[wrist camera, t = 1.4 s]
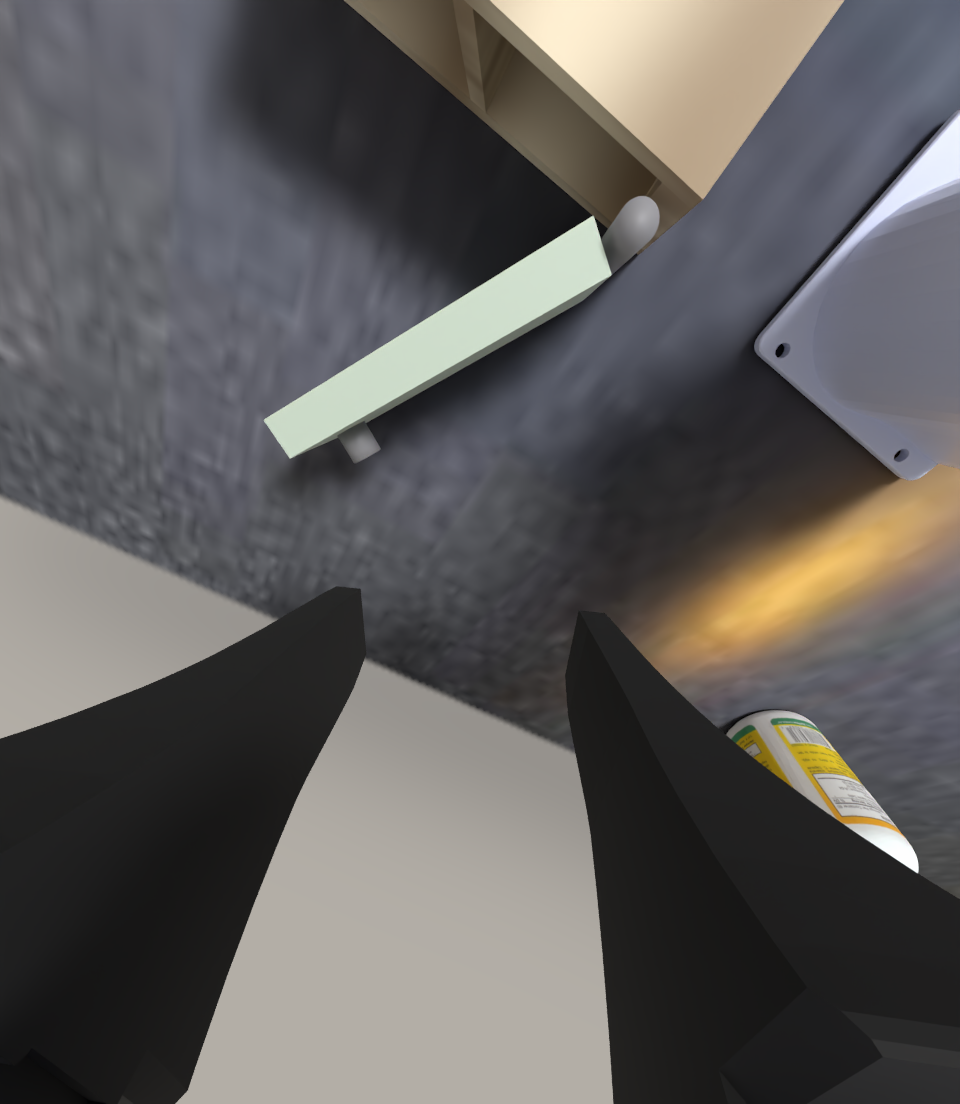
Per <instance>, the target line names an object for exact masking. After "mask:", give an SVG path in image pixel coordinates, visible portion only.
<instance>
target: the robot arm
mask: <svg viewBox="0 0 960 1104" xmlns="http://www.w3.org/2000/svg"><path fill="white" fill-rule="evenodd" d="M780 344H783V346H784V352H783V353H782V355H781V356H780V357H778V358H777V357H776V355H775V351H776V349H777V347H778V346H779V345H780ZM754 348H755V352H756V354H757V355H758V356H759V357H760V358H762V359H763V360H764V361H765V362H766V363H767V364H768V365H770V366H771V367H772V368H773V369H774V370H775V371H777V372H778V373H779V374H780V375H781V376H782V377H783V378H785V379H786V380H787V381H788V382H789V383H790V384H792V385H793V386H794V387H795V388H796V389H797V390H798V391H800V392H801V393H802V394H803V395H804V396H805V397H807V398H808V399H809V400H810V401H811V402H812V403H814V404H815V405H816V406H817V407H818V408H819V409H820V410H822V411H823V412H824V413H825V414H826V415H827V416H829V417H830V418H831V419H832V420H833V421H834V422H835V423H837V424H838V425H839V426H840V427H841V428H842V429H844V430H845V431H846V432H847V433H848V434H849V435H850V436H852V437H853V438H854V439H855V440H856V441H857V442H859V443H860V444H861V445H862V446H863V447H864V448H865V449H867V450H868V451H869V452H870V453H871V454H872V455H874V456H875V457H876V458H877V459H878V460H879V461H880V462H882V463H883V464H884V465H885V466H886V467H887V468H889V469H890V470H891V471H892V472H893V473H894V474H895V475H897V476H898V477H900V478H902V479H905V480H916V479H919V478H920V477H922V476H924V475H925V474H926V473H927V472H929V471H930V470H931V469H932V468H934V467H935V466H936V465H937V464H942V465H946V466H950V467H954V468H958V469H960V109H959V110H958V111H956V112H955V113H954V114H953V115H952V116H951V117H949V119H948V120H947V121H946V122H945V123H944V124H943V125H942V127H941V128H940V129H939V130H938V131H937V132H936V133H935V135H934V136H933V137H932V138H931V139H930V140H929V141H928V143H927V144H926V145H925V146H924V147H923V148H922V149H921V151H920V152H919V153H918V154H917V155H916V156H915V157H914V159H913V160H912V161H911V162H910V163H909V164H908V165H907V166H906V168H905V169H904V170H903V171H902V172H901V173H900V174H899V176H898V177H897V178H896V179H895V180H894V181H893V182H892V184H891V185H890V186H889V187H888V188H887V189H886V190H885V192H884V193H883V194H882V195H881V196H880V197H879V198H878V200H877V201H876V202H875V203H874V204H873V205H872V206H871V208H870V209H869V210H868V211H867V212H866V213H865V214H864V216H863V217H862V218H861V219H860V220H859V221H858V222H857V224H856V225H855V226H854V227H853V228H852V229H851V230H850V232H849V233H848V234H847V235H846V236H845V237H844V238H843V240H842V241H841V242H840V243H839V244H838V245H837V246H836V248H835V249H834V250H833V251H832V252H831V253H830V254H829V256H828V257H827V258H826V259H825V260H824V261H823V262H822V264H821V265H820V266H819V267H818V268H817V269H816V270H815V272H814V273H813V274H812V275H811V276H810V277H809V278H808V280H807V281H806V282H805V283H804V284H803V285H802V286H801V288H800V289H799V290H798V291H797V292H796V293H795V294H794V296H793V297H792V298H791V299H790V300H789V301H788V302H787V303H786V305H785V306H784V307H783V308H782V309H781V310H780V311H779V313H778V314H777V315H776V316H775V317H774V318H773V319H772V321H771V322H770V323H769V324H768V325H767V326H766V327H765V329H764V330H763V331H762V332H761V333H760V334H759V336H758V337H757V339H756V341H755V345H754ZM899 450H901V452H900V454H899V456H898V457H896V458H895V459H894V456H895V454H896V453H897V452H898V451H899ZM365 655H366V647H365V635H364V624H363V612H362V601H361V589H356V588H346V587H335V588H333V589H331V590H329V591H327V592H325V593H323V594H321V595H320V596H318V597H316V598H314V599H313V600H311V601H309V602H308V603H306V604H304V605H302V606H301V607H299V608H297V609H296V610H294V611H292V612H291V613H289V614H287V615H285V616H284V617H282V618H280V619H279V620H277V621H275V622H273V623H272V624H270V625H268V626H267V627H265V628H263V629H261V630H259V631H258V632H256V633H254V634H252V635H250V636H248V637H246V638H244V639H242V640H241V641H239V642H237V643H235V644H233V645H231V646H229V647H227V648H226V649H224V650H222V651H220V652H218V653H216V654H214V655H212V656H210V657H208V658H206V659H204V660H202V661H200V662H198V663H196V664H194V665H192V666H189V667H187V668H185V669H183V670H181V671H178V672H176V673H174V674H172V675H169V676H167V677H165V678H163V679H160V680H158V681H156V682H153V683H151V684H149V685H146V686H144V687H142V688H139V689H136V690H134V691H132V692H129V693H126V694H124V695H121V696H119V697H116V698H113V699H111V700H108V701H106V702H103V703H100V704H98V705H96V706H93V707H90V708H88V709H85V710H83V711H80V712H77V713H75V714H72V715H69V716H67V717H63V718H61V719H58V720H55V721H52V722H49V723H46V724H43V725H40V726H37V727H34V728H32V729H29V730H26V731H23V732H20V733H17V734H13V735H10V736H7V737H4V738H1V739H0V1104H175V1103H176V1102H177V1101H178V1100H179V1099H180V1098H181V1097H182V1096H183V1095H184V1094H185V1093H186V1092H187V1090H188V1088H189V1085H190V1082H191V1079H192V1076H193V1073H194V1070H195V1066H196V1064H197V1061H198V1058H199V1055H200V1052H201V1049H202V1046H203V1043H204V1040H205V1038H206V1035H207V1032H208V1029H209V1026H210V1023H211V1020H212V1017H213V1015H214V1012H215V1009H216V1006H217V1003H218V1000H219V997H220V994H221V992H222V989H223V986H224V983H225V980H226V977H227V975H228V972H229V969H230V966H231V964H232V961H233V959H234V956H235V953H236V950H237V948H238V945H239V942H240V940H241V937H242V934H243V932H244V929H245V926H246V924H247V921H248V918H249V915H250V913H251V910H252V907H253V905H254V902H255V899H256V897H257V895H258V892H259V889H260V887H261V884H262V882H263V879H264V877H265V874H266V872H267V869H268V867H269V864H270V862H271V859H272V857H273V854H274V851H275V849H276V847H277V844H278V842H279V839H280V837H281V835H282V832H283V830H284V827H285V825H286V823H287V820H288V818H289V815H290V813H291V811H292V808H293V806H294V804H295V801H296V799H297V797H298V795H299V793H300V790H301V788H302V786H303V784H304V782H305V780H306V778H307V776H308V774H309V772H310V770H311V768H312V767H313V765H314V763H315V761H316V759H317V757H318V755H319V753H320V751H321V749H322V748H323V746H324V744H325V742H326V740H327V738H328V736H329V735H330V733H331V731H332V729H333V727H334V725H335V723H336V721H337V719H338V717H339V715H340V714H341V712H342V710H343V708H344V706H345V704H346V702H347V700H348V698H349V696H350V694H351V692H352V690H353V688H354V685H355V683H356V680H357V678H358V675H359V672H360V669H361V667H362V664H363V661H364V658H365ZM565 678H566V693H567V706H568V716H569V722H570V727H571V732H572V737H573V743H574V748H575V753H576V758H577V763H578V768H579V773H580V778H581V783H582V788H583V793H584V799H585V803H586V809H587V814H588V821H589V826H590V833H591V841H592V851H593V859H594V869H595V879H596V888H597V899H598V909H599V919H600V931H601V941H602V952H603V964H604V977H605V989H606V1002H607V1014H608V1027H609V1041H610V1056H611V1071H612V1086H613V1102H614V1104H960V899H958V898H957V897H955V896H953V895H952V894H950V893H949V892H947V891H945V890H944V889H942V888H940V887H939V886H937V885H935V884H934V883H932V882H930V881H929V880H927V879H926V878H924V877H923V876H921V875H920V874H918V873H916V872H915V871H913V870H912V869H910V868H909V867H907V866H906V865H904V864H903V863H901V862H900V861H898V860H897V859H895V858H894V857H892V856H891V855H889V854H888V853H886V852H885V851H883V850H881V849H880V848H878V847H877V846H875V845H874V844H872V843H871V842H869V841H868V840H866V839H865V838H863V837H862V836H860V835H859V834H857V833H856V832H854V831H853V830H851V829H850V828H849V827H847V826H846V825H844V824H843V823H841V822H840V821H838V820H837V819H836V818H834V817H833V816H831V815H830V814H828V813H827V812H825V811H824V810H823V809H821V808H820V807H818V806H817V805H816V804H814V803H813V802H812V801H810V800H809V799H807V798H806V797H805V796H803V795H802V794H801V793H799V792H798V791H797V790H795V789H794V788H793V787H791V786H790V785H789V784H787V783H786V782H784V781H783V780H782V779H780V778H779V777H778V776H776V775H775V774H774V773H772V772H771V771H770V770H768V769H767V768H766V767H765V766H763V765H762V764H761V763H759V762H758V761H757V760H756V759H754V758H753V757H752V756H751V755H749V754H748V753H747V752H746V751H745V750H743V749H742V748H741V747H740V746H739V745H737V744H736V743H735V742H734V741H733V740H731V739H730V738H729V737H728V736H727V735H725V734H724V733H723V732H722V731H721V730H719V729H718V728H717V727H716V726H715V725H713V724H712V723H711V722H710V721H709V720H708V719H707V718H706V717H704V716H703V715H702V714H701V713H700V712H699V711H698V710H697V709H696V708H695V707H694V706H693V705H692V704H690V703H689V702H688V701H687V700H686V699H685V698H684V697H683V696H682V695H681V694H680V693H679V692H678V691H677V690H676V689H675V688H674V687H673V686H672V685H671V684H670V683H669V682H668V681H667V680H666V679H665V678H664V677H663V676H662V675H661V674H660V673H659V672H658V671H657V670H656V669H655V668H654V667H653V666H652V665H651V664H650V663H649V662H648V661H647V659H646V658H645V657H644V656H643V655H642V654H641V653H640V652H639V651H638V650H637V649H636V647H635V646H634V645H633V644H632V643H631V642H630V641H629V640H628V639H627V637H626V636H625V635H624V634H623V633H622V632H621V631H620V630H619V628H618V627H617V626H616V625H615V624H614V623H613V622H612V621H611V619H610V618H609V617H608V616H607V615H606V614H605V613H597V612H587V611H579V613H578V617H577V622H576V627H575V632H574V636H573V641H572V646H571V651H570V655H569V660H568V665H567V670H566V674H565Z"/></svg>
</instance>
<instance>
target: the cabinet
mask: <svg viewBox="0 0 960 1104" xmlns="http://www.w3.org/2000/svg"><path fill="white" fill-rule="evenodd" d="M344 1H345V2H346V3H347V4H349V5H350V6H351V7H352V8H353V9H354V10H356V11H357V12H358V13H359V14H360V15H361V16H362V17H364V18H365V19H366V20H367V21H368V22H369V23H371V24H372V25H373V26H374V27H375V28H376V29H378V30H379V31H380V32H381V33H382V34H383V35H384V36H386V37H387V38H388V39H389V40H390V41H391V42H393V43H394V44H395V45H396V46H397V47H398V48H399V49H401V50H402V51H403V52H404V53H405V54H406V55H408V56H409V57H410V58H411V59H412V60H413V61H415V62H416V63H417V64H418V65H419V66H420V67H421V68H423V69H424V70H425V71H426V72H427V73H428V74H430V75H431V76H432V77H433V78H434V79H435V80H436V81H438V82H439V83H440V84H441V85H442V86H443V87H445V88H446V89H447V90H448V91H449V92H450V93H452V94H453V95H454V96H455V97H456V98H457V99H458V100H460V101H461V102H462V103H463V104H464V105H465V106H467V107H468V108H469V109H470V110H471V111H472V112H474V113H475V114H476V115H477V116H478V117H479V118H480V119H482V120H483V121H484V122H485V123H486V124H487V125H489V126H490V127H491V128H492V129H493V130H494V131H495V132H497V133H498V134H499V135H500V136H501V137H502V138H504V139H505V140H506V141H507V142H508V143H509V144H511V145H512V146H513V147H514V148H515V149H516V150H517V151H519V152H520V153H521V154H522V155H523V156H524V157H526V158H527V159H528V160H529V161H530V162H531V163H532V164H534V165H535V166H536V167H537V168H538V169H539V170H541V171H542V172H543V173H544V174H545V175H546V176H548V177H549V178H550V179H551V180H552V181H553V182H554V183H556V184H557V185H558V186H559V187H560V188H561V189H563V190H564V191H565V192H566V193H567V194H568V195H570V196H571V197H572V198H573V199H574V200H575V201H576V202H578V203H579V204H580V205H581V206H582V207H583V208H585V209H586V210H587V211H588V212H589V213H590V214H591V215H594V217H595V218H596V219H597V220H598V221H600V222H601V223H602V224H603V225H604V226H605V227H607V228H609V227H610V226H611V224H612V223H613V221H614V220H615V218H616V217H617V216H618V214H619V213H620V211H621V210H622V208H623V207H624V206H625V204H626V203H627V202H629V201H630V200H631V199H633V198H635V197H638V196H646V197H649V198H651V199H652V200H653V201H654V202H655V203H656V205H657V207H658V209H659V216H660V219H659V225H658V228H657V231H656V233H655V235H654V236H653V238H652V239H651V240H650V241H649V242H648V243H647V244H646V245H645V246H643V247H642V248H641V249H640V250H639V251H638V252H637V254H638V255H639V254H640V253H642V252H643V251H644V250H645V249H646V248H647V247H649V246H650V245H651V244H652V243H653V242H654V241H655V240H657V239H658V238H659V237H660V236H661V235H662V234H664V233H665V232H666V231H667V230H668V229H669V228H671V227H672V226H673V225H674V224H675V223H676V222H678V221H679V220H680V219H681V218H682V217H683V216H684V215H686V214H687V213H688V212H689V211H690V210H691V209H693V208H694V207H695V206H696V205H697V204H698V203H700V202H701V201H702V200H703V199H704V197H705V196H706V195H707V193H708V192H709V190H710V189H711V188H712V186H713V185H714V183H715V182H716V180H717V179H718V178H719V176H720V175H721V173H722V172H723V171H724V169H725V168H726V166H727V165H728V164H729V162H730V161H731V159H732V158H733V157H734V155H735V154H736V152H737V151H738V149H739V148H740V147H741V145H742V144H743V142H744V141H745V140H746V138H747V137H748V135H749V134H750V133H751V131H752V130H753V128H754V127H755V126H756V124H757V123H758V121H759V120H760V118H761V117H762V116H763V114H764V113H765V111H766V110H767V109H768V107H769V106H770V104H771V103H772V102H773V100H774V99H775V97H776V96H777V94H778V93H779V92H780V90H781V89H782V87H783V86H784V85H785V83H786V82H787V80H788V79H789V78H790V76H791V75H792V73H793V72H794V71H795V69H796V68H797V66H798V65H799V63H800V62H801V61H802V59H803V58H804V56H805V55H806V54H807V52H808V51H809V49H810V48H811V47H812V45H813V44H814V42H815V41H816V40H817V38H818V37H819V35H820V34H821V32H822V31H823V30H824V28H825V27H826V25H827V24H828V23H829V21H830V20H831V18H832V17H833V16H834V14H835V13H836V11H837V10H838V8H839V7H840V6H841V4H842V3H843V1H844V0H344Z"/></svg>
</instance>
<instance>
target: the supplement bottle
mask: <svg viewBox="0 0 960 1104" xmlns="http://www.w3.org/2000/svg"><path fill="white" fill-rule="evenodd" d="M726 735H727V736H728V737H729V738H730V739H731V740H733V741H734V742H735V743H736V744H737V745H739V746H740V747H741V748H742V749H743V750H745V751H746V752H747V753H748V754H749V755H751V756H752V757H753V758H754V759H756V760H757V761H758V762H759V763H761V764H762V765H763V766H765V767H766V768H767V769H768V770H770V771H771V772H772V773H774V774H775V775H776V776H778V777H779V778H780V779H782V780H783V781H784V782H786V783H787V784H789V785H790V786H791V787H793V788H794V789H795V790H797V791H798V792H799V793H801V794H802V795H803V796H805V797H806V798H807V799H809V800H810V801H812V802H813V803H814V804H816V805H817V806H818V807H820V808H821V809H823V810H824V811H825V812H827V813H828V814H830V815H831V816H833V817H834V818H836V819H837V820H838V821H840V822H841V823H843V824H844V825H846V826H847V827H849V828H850V829H851V830H853V831H854V832H856V833H857V834H859V835H860V836H862V837H863V838H865V839H866V840H868V841H869V842H871V843H872V844H874V845H875V846H877V847H878V848H880V849H881V850H883V851H885V852H886V853H888V854H889V855H891V856H892V857H894V858H895V859H897V860H898V861H900V862H901V863H903V864H904V865H906V866H907V867H909V868H910V869H912V870H913V871H915V872H916V873H918V860H917V857H916V854H915V852H914V850H913V848H912V847H911V845H910V844H909V842H908V841H907V840H906V838H905V837H904V836H903V835H902V833H901V832H900V831H899V830H898V828H897V827H896V826H895V825H894V823H893V822H892V821H891V819H890V818H889V817H888V816H887V815H886V813H885V812H884V811H883V810H882V808H881V807H880V806H879V804H878V803H877V802H876V801H875V799H874V798H873V797H872V796H871V794H870V793H869V792H868V791H867V789H866V788H865V787H864V786H863V784H862V783H861V782H860V781H859V779H858V778H857V777H856V776H855V774H854V773H853V772H852V771H851V769H850V768H849V767H848V766H847V764H846V763H845V762H844V761H843V759H842V758H841V757H840V756H839V754H838V753H837V752H836V751H835V749H834V748H833V747H832V746H831V744H830V743H829V742H828V741H827V739H826V738H825V737H824V736H823V734H822V733H821V732H820V731H819V729H818V728H817V727H816V726H815V725H814V724H813V723H812V722H811V721H810V720H808V719H807V718H805V717H803V716H801V715H799V714H797V713H794V712H790V711H784V710H769V711H762V712H758V713H755V714H752V715H749V716H747V717H745V718H743V719H741V720H740V721H738V722H737V723H736V724H735V725H734V726H733V727H732V728H731V729H730V730H729V731H728V732H727V734H726Z"/></svg>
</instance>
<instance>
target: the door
mask: <svg viewBox="0 0 960 1104" xmlns="http://www.w3.org/2000/svg"><path fill="white" fill-rule="evenodd" d="M659 219H660V216H659V209H658V207H657V205H656V203H655V202H654V201H653V200H652V199H651V198H649V197H646V196H638V197H635V198H633V199H631V200H630V201H629V202H627V203H626V204H625V206H624V207H623V208H622V210H621V211H620V213H619V214H618V216H617V217H616V218H615V220H614V221H613V223H612V224H611V226H610V227H609V228H608V230H607V231H606V233H605V234H604V236H603V237H602V239H601V238H600V235H599V232H598V228H597V225H596V222H595V219H594V215H593V216H592V217H590V218H588V219H587V220H585V221H584V222H582V223H580V224H579V225H577V226H576V227H574V228H572V229H571V230H569V231H568V232H566V233H564V234H563V235H561V236H559V237H558V238H556V239H555V240H553V241H551V242H550V243H548V244H547V245H545V246H543V247H542V248H540V249H539V250H537V251H535V252H534V253H532V254H530V255H529V256H527V257H526V258H524V259H522V260H521V261H519V262H518V263H516V264H514V265H513V266H511V267H510V268H508V269H506V270H505V271H503V272H501V273H500V274H498V275H497V276H495V277H493V278H492V279H490V280H489V281H487V282H485V283H484V284H482V285H480V286H479V287H477V288H476V289H474V290H472V291H471V292H469V293H468V294H466V295H464V296H463V297H461V298H460V299H458V300H456V301H455V302H453V303H451V304H450V305H448V306H447V307H445V308H443V309H442V310H440V311H439V312H437V313H435V314H434V315H432V316H431V317H429V318H427V319H426V320H424V321H422V322H421V323H419V324H418V325H416V326H414V327H413V328H411V329H410V330H408V331H406V332H405V333H403V334H402V335H400V336H398V337H397V338H395V339H393V340H392V341H390V342H389V343H387V344H385V345H384V346H382V347H381V348H379V349H377V350H376V351H374V352H372V353H371V354H369V355H368V356H366V357H364V358H363V359H361V360H360V361H358V362H356V363H355V364H353V365H352V366H350V367H348V368H347V369H345V370H343V371H342V372H340V373H339V374H337V375H335V376H334V377H332V378H331V379H329V380H327V381H326V382H324V383H323V384H321V385H319V386H318V387H316V388H314V389H313V390H311V391H310V392H308V393H306V394H305V395H303V396H302V397H300V398H298V399H297V400H295V401H294V402H292V403H290V404H289V405H287V406H285V407H284V408H282V409H281V410H279V411H277V412H276V413H274V414H273V415H271V416H269V417H268V418H266V419H265V420H264V421H265V423H266V424H267V426H268V427H269V429H270V430H271V432H272V433H273V434H274V436H275V437H276V439H277V440H278V442H279V443H280V445H281V446H282V447H283V449H284V450H285V452H286V453H287V455H288V456H289V458H293V457H295V456H297V455H300V454H302V453H304V452H306V451H309V450H311V449H313V448H316V447H318V446H320V445H323V444H325V443H327V442H329V441H332V440H334V439H336V438H339V440H340V441H341V443H342V444H343V446H344V448H345V449H346V451H347V452H348V454H349V456H350V457H351V459H352V460H353V462H354V463H358V462H359V461H361V460H363V459H365V458H367V457H369V456H371V455H372V454H374V453H376V452H378V451H379V450H381V448H380V446H379V445H378V443H377V441H376V440H375V438H374V436H373V434H372V433H371V431H370V429H369V428H368V426H367V424H366V423H367V422H369V421H371V420H372V419H374V418H376V417H378V416H380V415H381V414H383V413H385V412H387V411H388V410H390V409H392V408H394V407H395V406H397V405H399V404H401V403H403V402H404V401H406V400H408V399H410V398H411V397H413V396H415V395H417V394H419V393H420V392H422V391H424V390H426V389H427V388H429V387H431V386H433V385H434V384H436V383H438V382H440V381H442V380H443V379H445V378H447V377H449V376H450V375H452V374H454V373H456V372H457V371H459V370H461V369H463V368H465V367H466V366H468V365H470V364H472V363H473V362H475V361H477V360H479V359H481V358H482V357H484V356H486V355H488V354H489V353H491V352H493V351H495V350H496V349H498V348H500V347H502V346H504V345H505V344H507V343H509V342H511V341H512V340H514V339H516V338H518V337H519V336H521V335H523V334H525V333H527V332H528V331H530V330H532V329H534V328H535V327H537V326H539V325H541V324H543V323H544V322H546V321H548V320H550V319H551V318H553V317H555V316H557V315H558V314H560V313H562V312H564V311H566V310H567V309H569V308H571V307H573V306H574V305H576V304H578V303H580V302H581V301H583V300H584V299H586V298H587V297H588V296H589V295H590V294H591V293H592V292H593V291H594V290H596V289H597V288H598V287H599V286H600V285H601V284H602V283H603V282H604V281H606V280H607V279H608V278H609V277H610V276H611V275H612V274H613V273H614V272H616V271H617V270H618V269H619V268H620V267H621V266H622V265H623V264H625V263H626V262H627V261H628V260H629V259H630V258H631V257H632V256H633V255H635V254H636V253H637V252H638V251H639V250H640V249H641V248H642V247H643V246H645V245H646V244H647V243H648V242H649V241H650V240H651V239H652V238H653V236H654V235H655V233H656V231H657V228H658V225H659Z"/></svg>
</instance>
